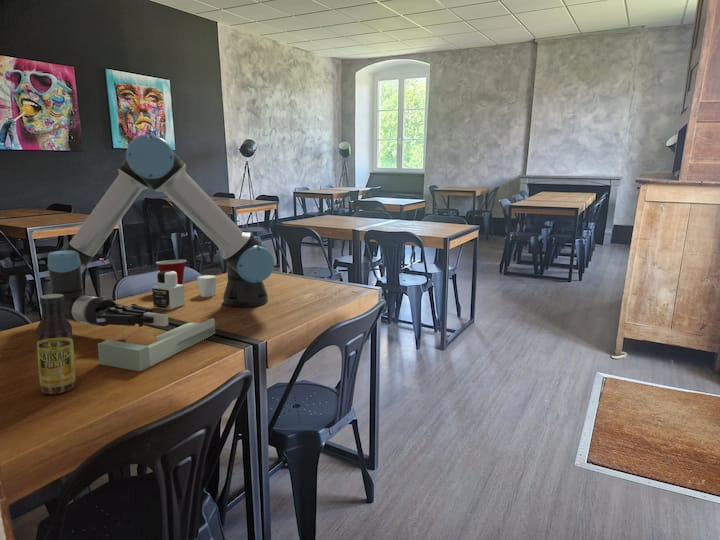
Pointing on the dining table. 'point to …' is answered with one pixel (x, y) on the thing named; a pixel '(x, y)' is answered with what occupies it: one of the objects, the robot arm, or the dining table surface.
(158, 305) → the medicine bottle
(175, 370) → the dining table surface
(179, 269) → the plastic cup
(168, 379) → the dining table surface
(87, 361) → the dining table surface
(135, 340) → the ball
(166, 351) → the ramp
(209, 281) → the white tapered cup
